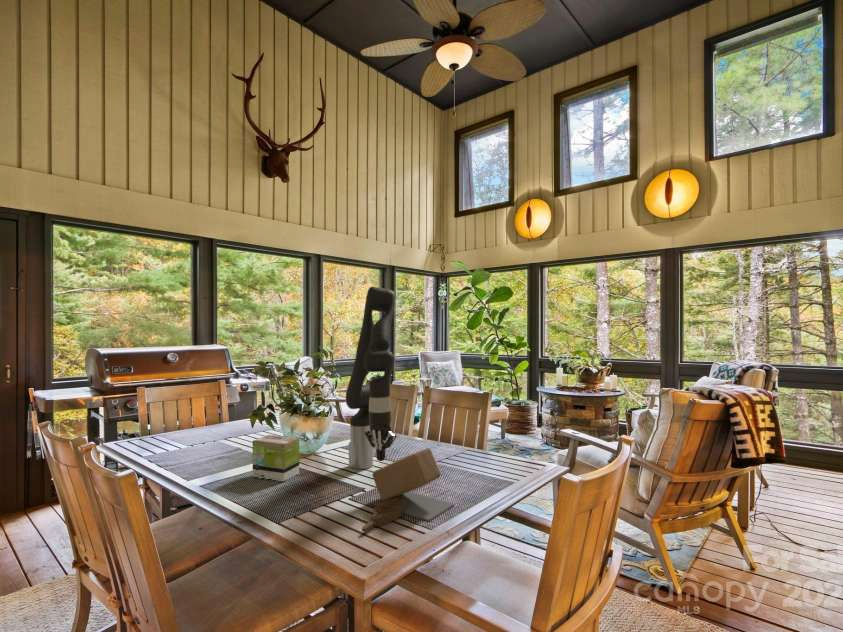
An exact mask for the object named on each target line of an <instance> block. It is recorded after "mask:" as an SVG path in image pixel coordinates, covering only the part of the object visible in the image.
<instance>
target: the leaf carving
mask: <svg viewBox="0 0 843 632" xmlns="http://www.w3.org/2000/svg"><path fill="white" fill-rule="evenodd" d="M404 510H405V497H404V498H403V497H399V498H394V499H390V500H387V501H385V502H384V501H382V502H381V503H379V504H377V505H376V507H375V508H374V509H373V515H372V519H371V520H369V521H368V522H367V523H366V524H365V525H363V526H362V527H361V531H362V532H368V531H369V530H370V529H371V528H373V527H378V526H382V525H385V524H388V523H390V522H393V521H395V520H397V519H399V518H400V517H401V516H402V515H403V512H404Z"/></svg>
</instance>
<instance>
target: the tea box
mask: <svg viewBox="0 0 843 632" xmlns="http://www.w3.org/2000/svg"><path fill="white" fill-rule="evenodd" d="M297 474H298V475H300V438H299V437H291V436H284V435H283V436H282V435H276V434H275V435H272V434H267V435H265V436H262V437H260V438H257V439H254V440H252V477H253V476H255V477H263V478H269V479H275V480H281V481H285V480H287V479H289V478H291V477H293V476H295V475H297ZM298 475H297V476H298ZM295 477H296V476H295ZM293 478H294V477H293ZM291 479H292V478H291Z"/></svg>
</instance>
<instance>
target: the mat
mask: <svg viewBox="0 0 843 632" xmlns="http://www.w3.org/2000/svg"><path fill="white" fill-rule="evenodd" d="M399 497H403V498H404V497H405V510H404V512H403V513H402V515H406V516H410V517H413V518H417V519H419V520H423V521H426V522H431V521H433V520H435V519H436V518H438V517H439V516H440V515H442V514H444V513H446V512H447V511H448V510H450V509H452V508H453V507H455V503H452V502H449V501H445V500H441V499H437V498H434V497H430V496H426V495H423V494H422V495H421V494H419V493H415V492H411V491H409V492H406V493H404V494H401V495H399V496H397V497H394V498H399ZM394 498H392V499H394ZM389 500H390V499H389ZM383 502H385V501H383Z"/></svg>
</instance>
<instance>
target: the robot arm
mask: <svg viewBox="0 0 843 632" xmlns="http://www.w3.org/2000/svg"><path fill="white" fill-rule="evenodd" d="M395 302H396V293H395V291H394V290H392V289H387V288H382V287H378V286H370V287H368V290H367V292H366V297H365V302H364V303H365V305H364V311H363V318H362V324H361V330H360V335H359V338H358V343H357V348H356V352H355V358H354V363H353V367H352V372H351V375H350V378H349V382H348V386H347V389H346V391H345V392H346V393H345V403H346V407H348V408H349V409H350V410H357V409H358V411H357V412H356V413H355V414H354V415H352V416H351V417H350V419H349V420H350V422H349V424H350V427H349V430H350V431H349V432H350V441H349V442H348V466H350V467H351V468H352V469H355V470H365V469H369V468H372V467H373V466H374V448H375V451H376V452H375V453H376V455H375V458H376V459H377V460H376V461H378V462H383V461H384V460H385V459H386V450H387V449H389V448H391V446H392V445H393V443H394V441H395V440H396V439H397V434H395V433H393V432H392V428H391V423H392V401H391V377H392V374H393V370H394V366H395V361H396V360H395V358H396V357H395V355H394V353H393V352H391V351H388V350H389V349H390V346H391V342H390V341H391V327H392V326H391V325H392V321H393V318H394V317H393V316H394V310H395V304H396V303H395ZM373 311H374V312H380V313H384V314H383V316H381V317H380V318H379V320H377V321H376V322H374V318H373ZM380 372H382V373H384V374H383V375H382V376H381V377H378V378H377V377H376V378H373V379H371V380H370V381H369V384H364V382H365V379H366V377H367V375H368V374H369V373H380Z"/></svg>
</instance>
